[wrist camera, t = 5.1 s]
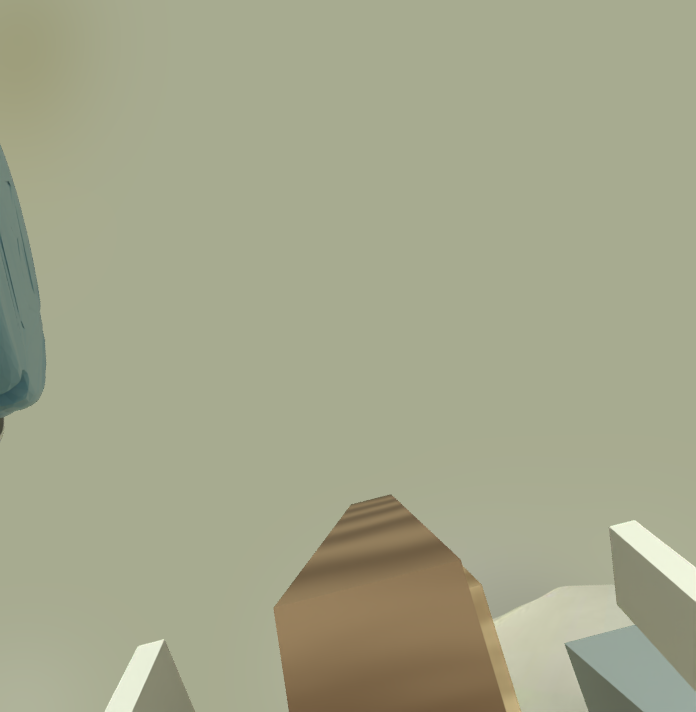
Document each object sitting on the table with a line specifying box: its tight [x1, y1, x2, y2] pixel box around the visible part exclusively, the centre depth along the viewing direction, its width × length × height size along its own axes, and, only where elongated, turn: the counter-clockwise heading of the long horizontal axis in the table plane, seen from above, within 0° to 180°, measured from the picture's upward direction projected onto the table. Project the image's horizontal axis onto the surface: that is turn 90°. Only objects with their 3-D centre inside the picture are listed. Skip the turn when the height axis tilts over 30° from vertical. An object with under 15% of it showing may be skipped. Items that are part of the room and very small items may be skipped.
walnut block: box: [274, 495, 506, 712], centre depth 21 cm, size 30×4×4 cm, turn 176°
